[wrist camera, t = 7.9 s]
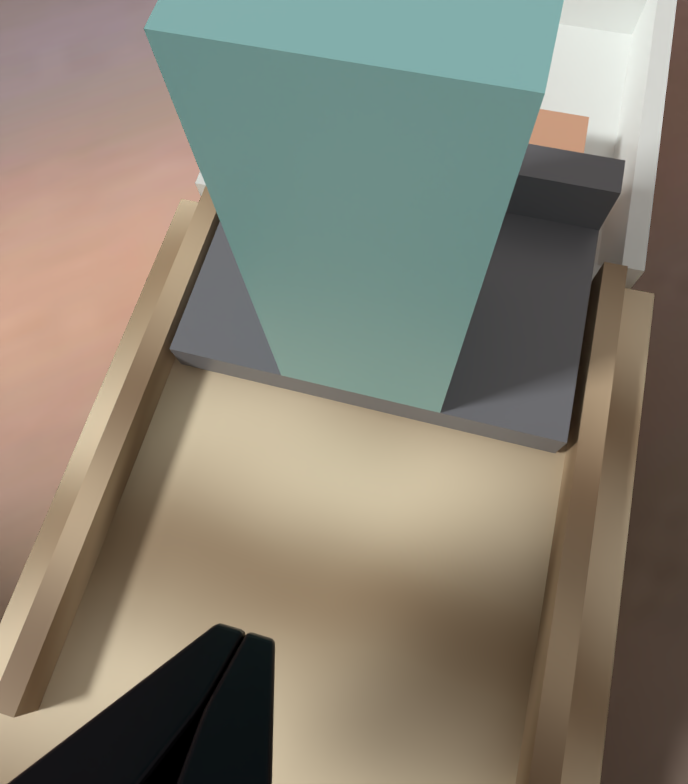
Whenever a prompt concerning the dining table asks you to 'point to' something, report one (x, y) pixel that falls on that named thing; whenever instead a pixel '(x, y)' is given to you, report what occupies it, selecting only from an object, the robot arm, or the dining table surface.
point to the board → (337, 558)
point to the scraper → (387, 206)
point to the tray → (614, 106)
